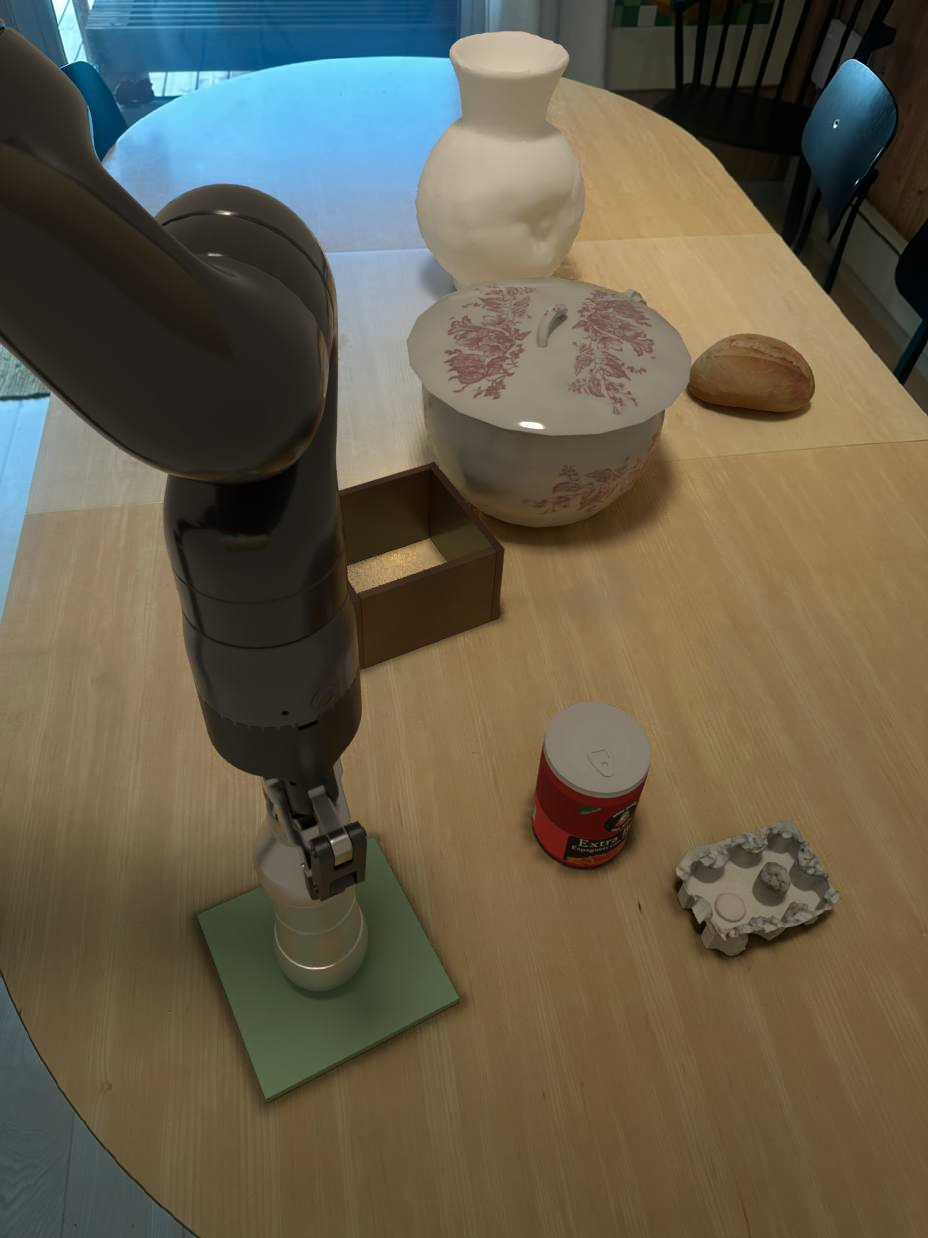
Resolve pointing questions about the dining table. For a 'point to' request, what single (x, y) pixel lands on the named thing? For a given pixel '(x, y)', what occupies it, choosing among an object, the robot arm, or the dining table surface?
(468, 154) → the vase
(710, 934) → the egg carton
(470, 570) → the crate
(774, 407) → the bread roll
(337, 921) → the plastic bottle
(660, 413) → the chamber pot
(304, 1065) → the mat
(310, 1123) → the dining table surface
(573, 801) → the canned food
